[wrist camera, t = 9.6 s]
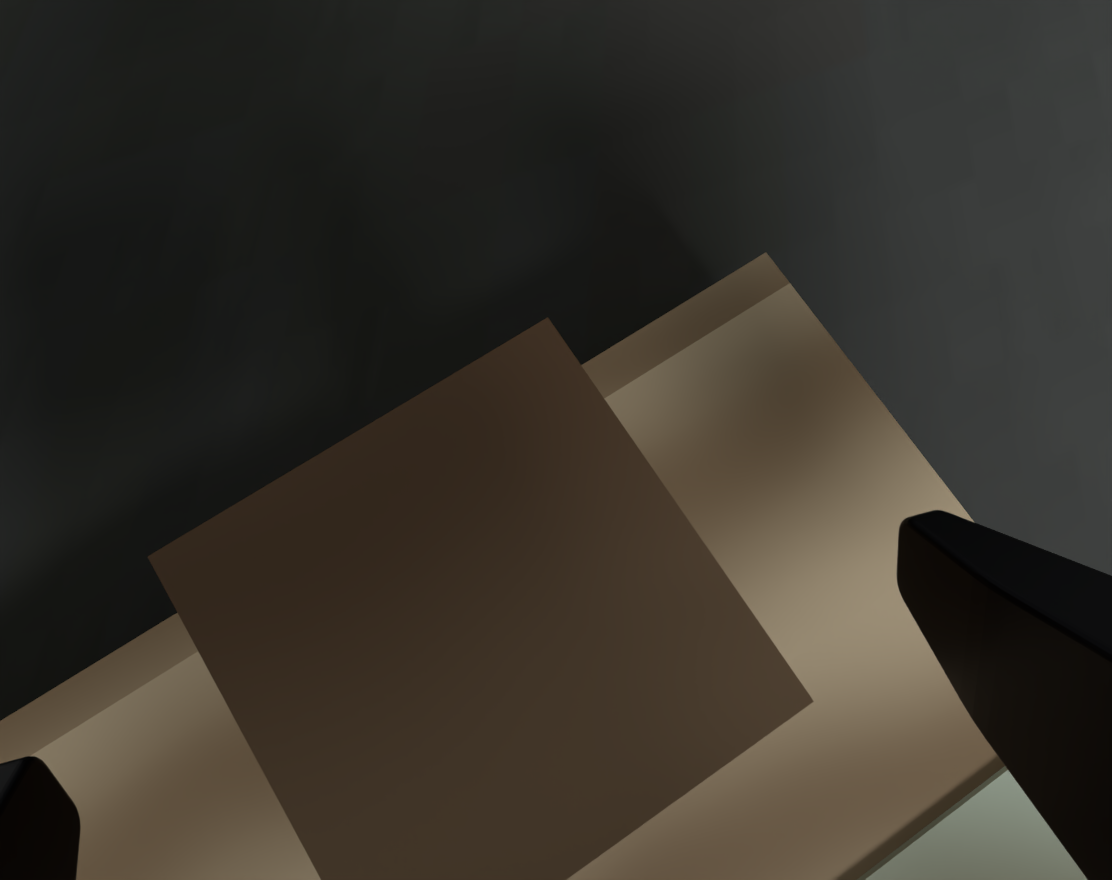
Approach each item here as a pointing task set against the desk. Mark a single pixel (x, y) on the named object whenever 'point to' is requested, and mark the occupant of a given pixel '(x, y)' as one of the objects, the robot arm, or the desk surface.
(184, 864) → the puzzle board
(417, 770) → the peg
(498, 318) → the desk surface
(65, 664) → the desk surface
